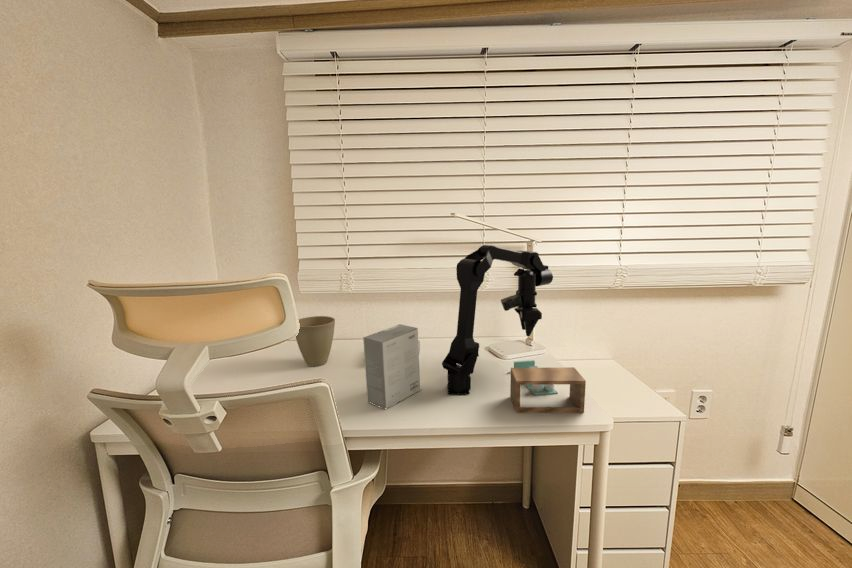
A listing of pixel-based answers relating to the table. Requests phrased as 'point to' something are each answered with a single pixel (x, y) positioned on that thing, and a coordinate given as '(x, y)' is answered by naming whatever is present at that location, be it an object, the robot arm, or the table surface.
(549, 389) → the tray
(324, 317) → the plant pot
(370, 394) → the hard drive box
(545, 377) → the shelf
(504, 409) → the table surface
